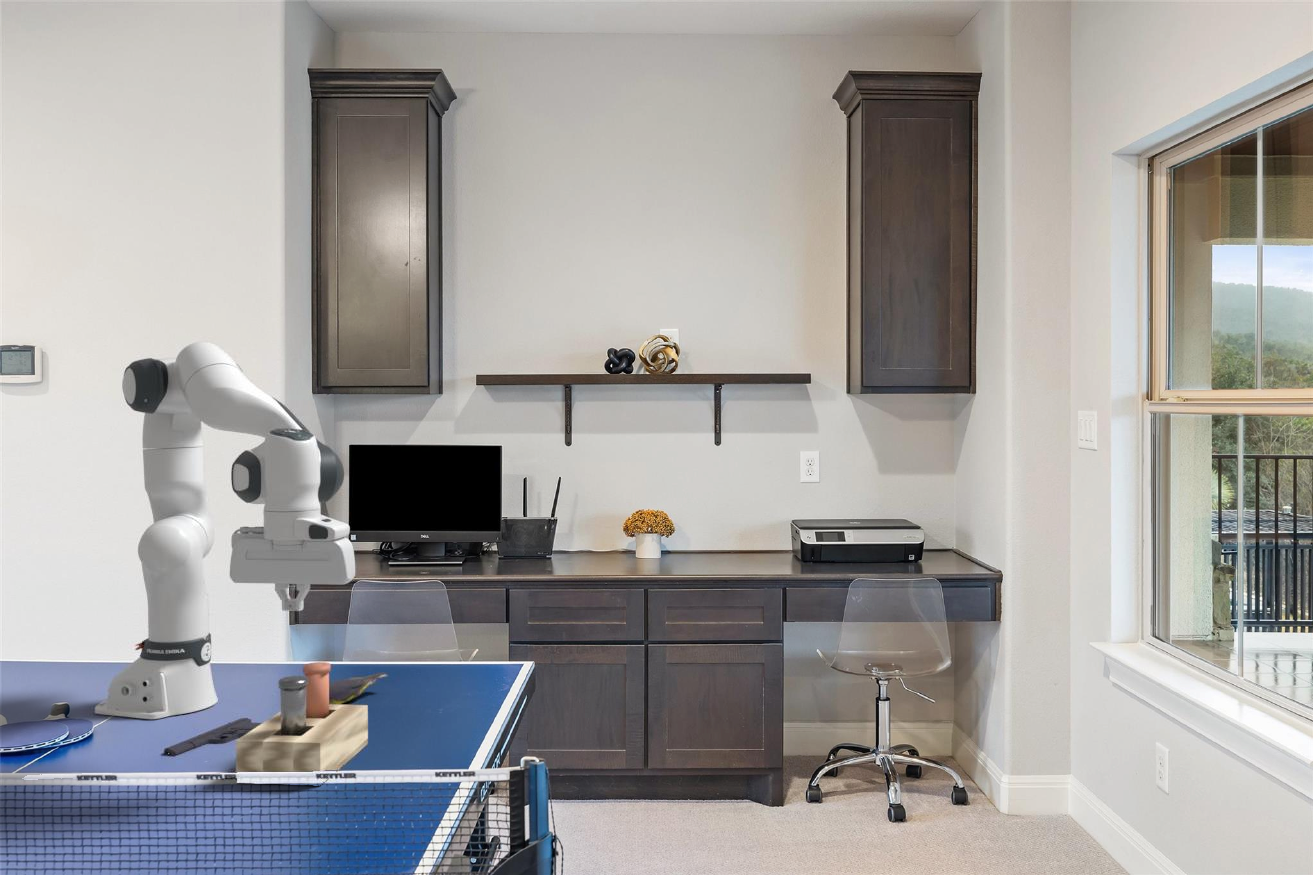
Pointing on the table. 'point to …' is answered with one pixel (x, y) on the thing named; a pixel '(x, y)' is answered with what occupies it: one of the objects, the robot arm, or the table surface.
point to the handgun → (214, 736)
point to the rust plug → (317, 689)
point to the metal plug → (293, 705)
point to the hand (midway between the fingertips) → (292, 610)
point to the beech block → (305, 743)
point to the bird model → (350, 687)
